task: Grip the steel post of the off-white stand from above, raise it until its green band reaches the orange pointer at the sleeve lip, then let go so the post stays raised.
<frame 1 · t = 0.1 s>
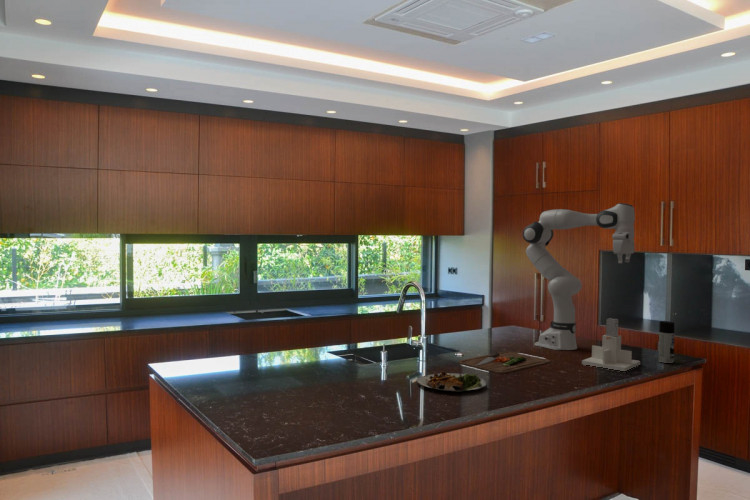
hand: (623, 262, 290), 48 cm above the counter, tool pointing down, fingers open, 8 cm apart
plate of food: (451, 386, 233), on the counter
spray can: (665, 363, 280), on the counter
stand: (611, 364, 274), on the counter
chopping board: (504, 364, 276), on the counter
column: (611, 337, 273), point 13 cm above the counter, slide at 0.0 cm
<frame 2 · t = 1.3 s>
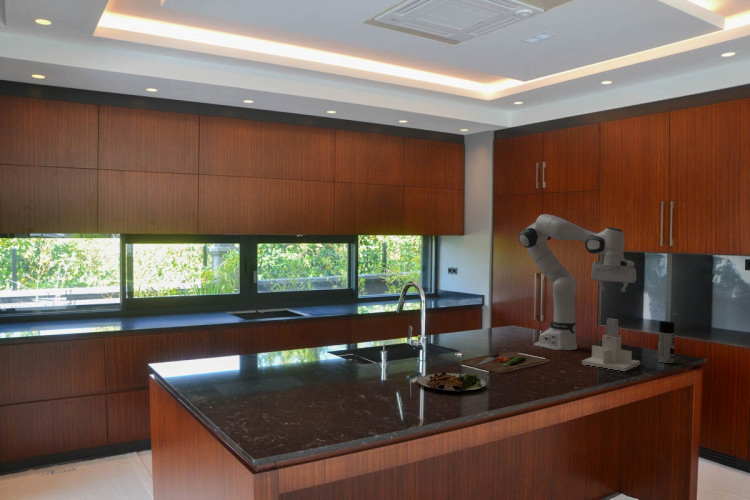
hand: (612, 291, 273), 35 cm above the counter, tool pointing down, fingers open, 8 cm apart
nothing on the counter moved.
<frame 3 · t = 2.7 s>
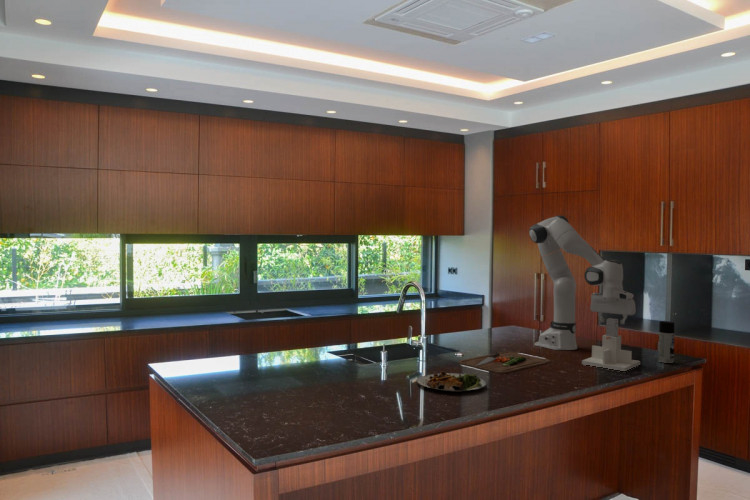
hand: (612, 322, 273), 20 cm above the counter, tool pointing down, fingers open, 8 cm apart
nothing on the counter moved.
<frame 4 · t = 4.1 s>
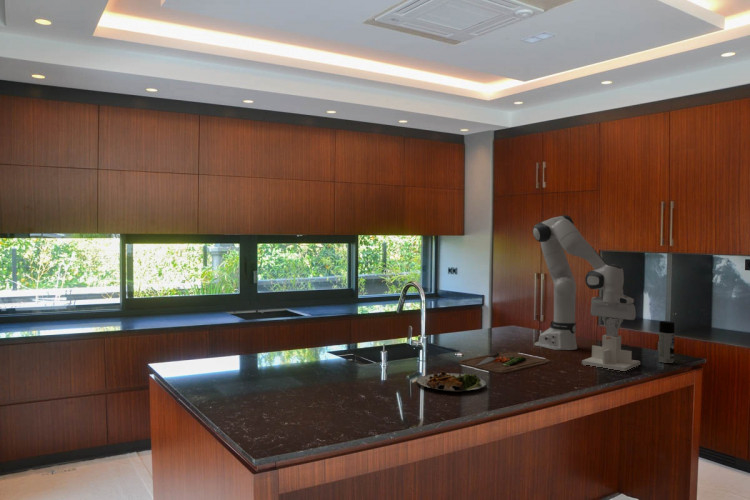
hand: (612, 327, 273), 18 cm above the counter, tool pointing down, fingers closed on column, 4 cm apart
column: (611, 337, 273), point 13 cm above the counter, slide at 0.0 cm, touching gripper
everything else where it was.
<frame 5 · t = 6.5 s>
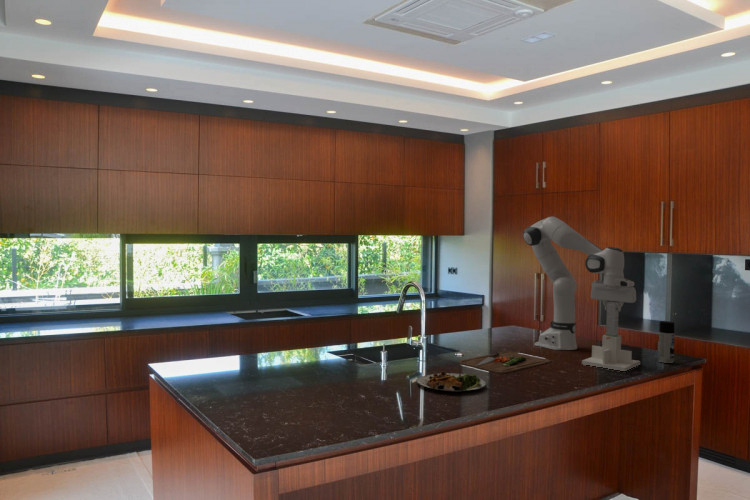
hand: (612, 310, 273), 26 cm above the counter, tool pointing down, fingers closed on column, 4 cm apart
column: (612, 321, 273), point 21 cm above the counter, slide at 7.8 cm, touching gripper
everything else where it was.
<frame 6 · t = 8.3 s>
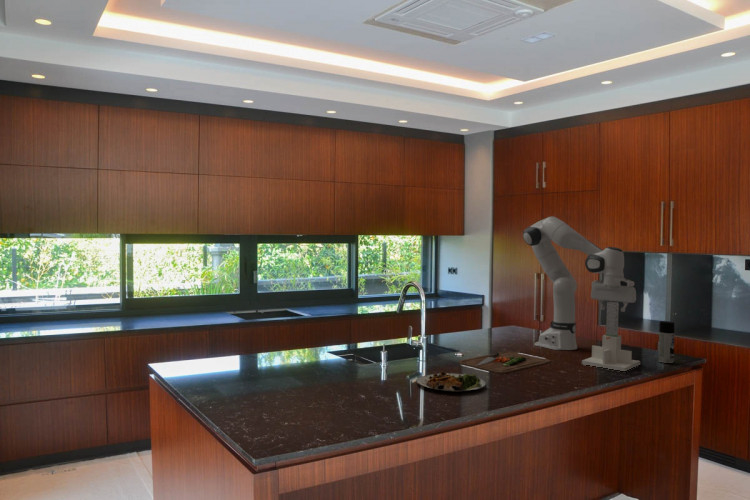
hand: (612, 310, 273), 26 cm above the counter, tool pointing down, fingers open, 8 cm apart
column: (612, 321, 273), point 21 cm above the counter, slide at 7.9 cm
everything else where it was.
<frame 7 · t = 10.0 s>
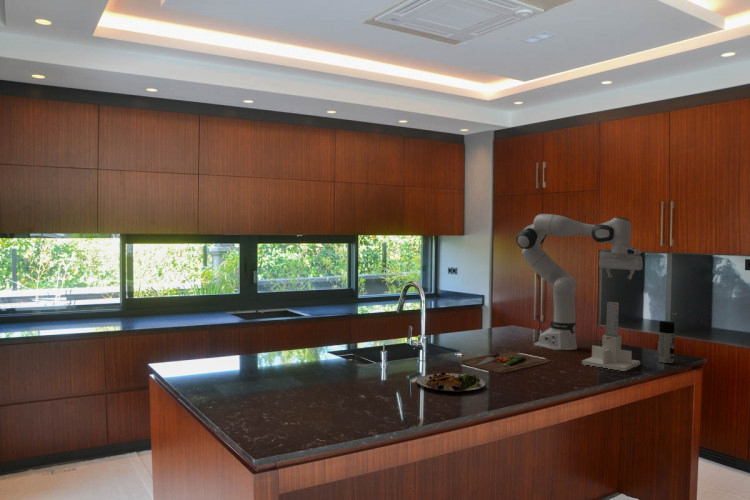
hand: (619, 278, 283), 41 cm above the counter, tool pointing down, fingers open, 8 cm apart
nothing on the counter moved.
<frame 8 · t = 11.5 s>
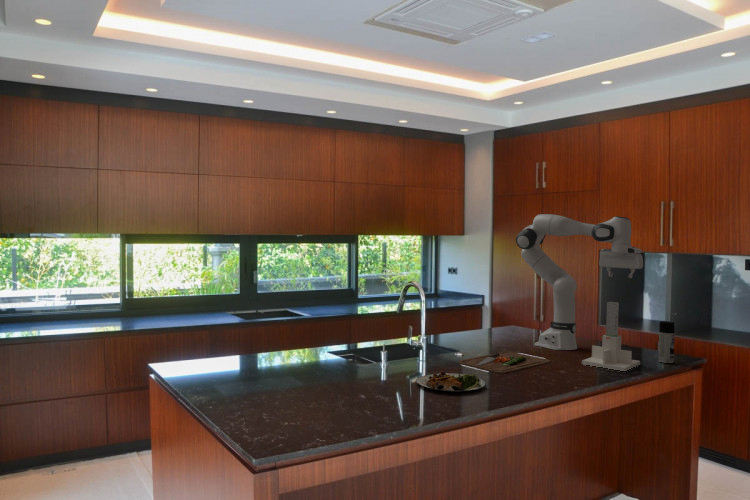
hand: (620, 277, 284), 41 cm above the counter, tool pointing down, fingers open, 8 cm apart
nothing on the counter moved.
at the end: column slide at 7.9 cm; the gripper is holding nothing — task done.
